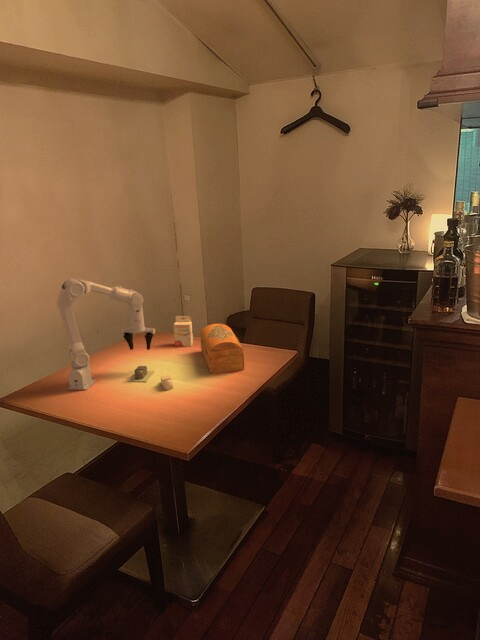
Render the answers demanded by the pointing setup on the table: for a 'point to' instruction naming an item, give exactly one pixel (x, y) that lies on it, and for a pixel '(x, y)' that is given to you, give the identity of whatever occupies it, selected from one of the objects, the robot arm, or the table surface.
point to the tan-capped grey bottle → (140, 372)
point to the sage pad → (145, 379)
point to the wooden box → (221, 349)
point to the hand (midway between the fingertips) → (140, 349)
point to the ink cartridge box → (183, 331)
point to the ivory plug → (166, 382)
